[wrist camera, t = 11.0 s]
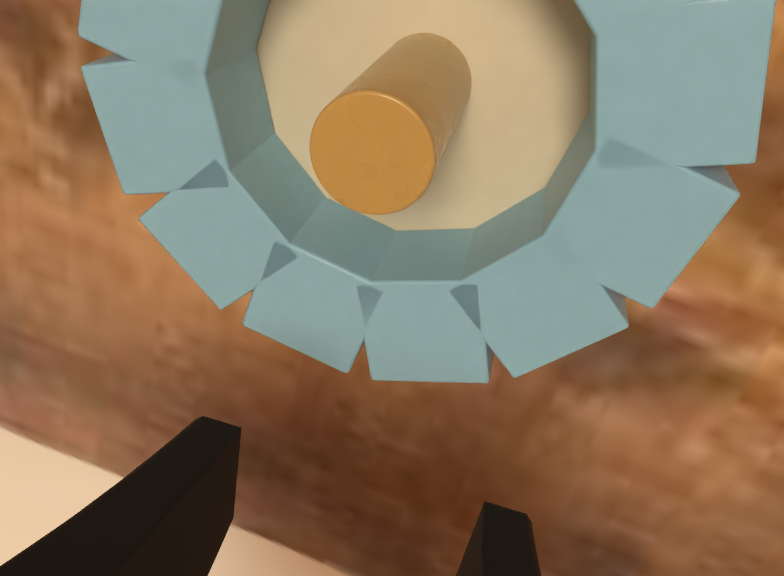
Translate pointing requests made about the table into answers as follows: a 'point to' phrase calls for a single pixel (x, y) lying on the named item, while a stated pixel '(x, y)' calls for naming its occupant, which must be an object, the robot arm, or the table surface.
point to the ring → (443, 246)
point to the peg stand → (426, 101)
